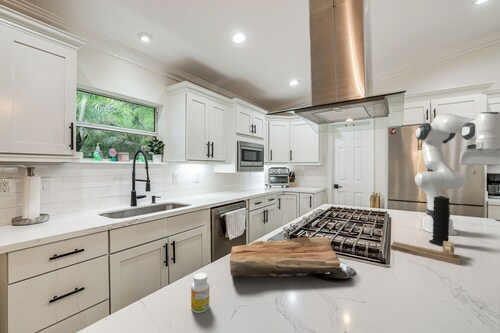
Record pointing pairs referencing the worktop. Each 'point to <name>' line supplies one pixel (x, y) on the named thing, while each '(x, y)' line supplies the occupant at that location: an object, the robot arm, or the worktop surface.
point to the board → (426, 252)
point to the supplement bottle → (200, 293)
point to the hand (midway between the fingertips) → (487, 174)
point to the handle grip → (440, 220)
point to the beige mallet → (448, 247)
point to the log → (284, 258)
